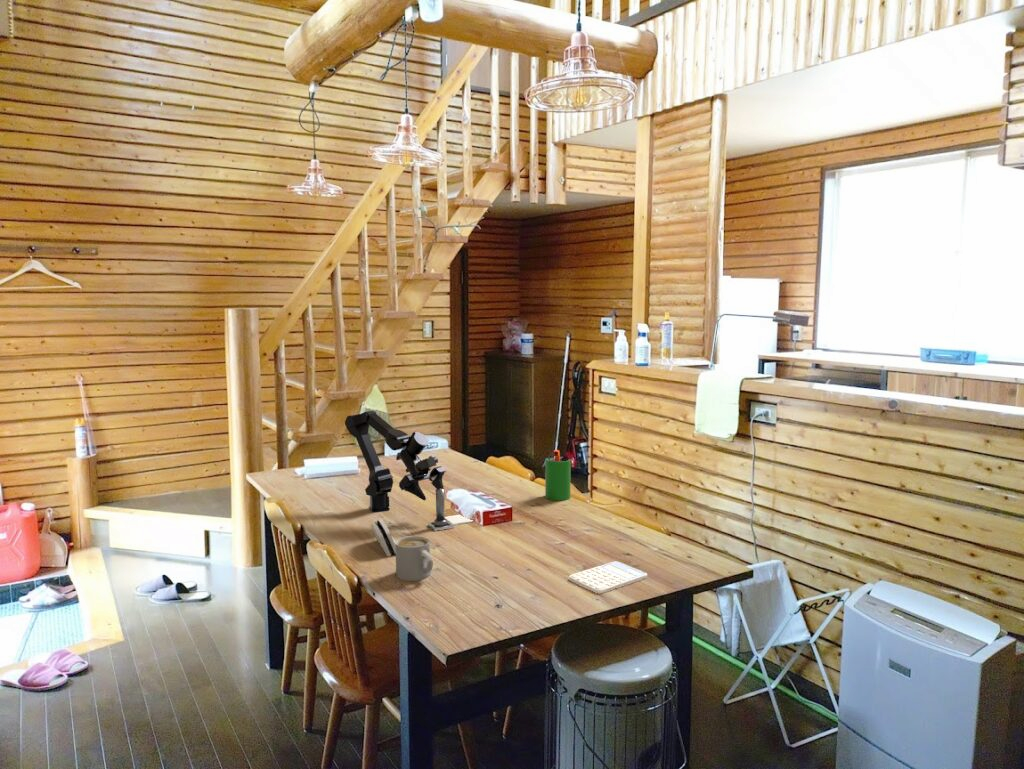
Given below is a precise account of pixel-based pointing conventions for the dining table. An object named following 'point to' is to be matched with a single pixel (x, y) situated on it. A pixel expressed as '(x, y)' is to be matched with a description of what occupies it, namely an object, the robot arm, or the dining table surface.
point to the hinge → (384, 537)
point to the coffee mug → (413, 558)
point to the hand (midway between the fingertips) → (434, 496)
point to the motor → (557, 478)
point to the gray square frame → (431, 525)
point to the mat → (457, 519)
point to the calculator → (607, 577)
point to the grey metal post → (440, 509)
